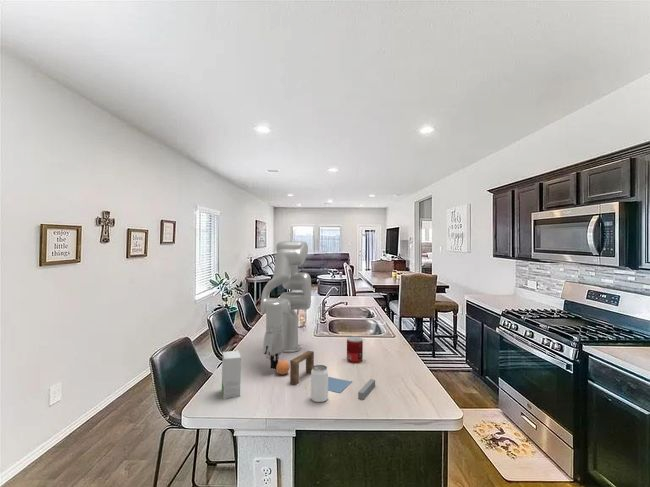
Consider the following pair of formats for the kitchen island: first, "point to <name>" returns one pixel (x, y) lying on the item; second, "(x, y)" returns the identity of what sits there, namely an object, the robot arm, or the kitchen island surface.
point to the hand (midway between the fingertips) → (274, 368)
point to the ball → (282, 367)
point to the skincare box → (231, 374)
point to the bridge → (295, 366)
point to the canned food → (354, 349)
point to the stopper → (366, 389)
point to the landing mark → (337, 384)
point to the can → (319, 383)
